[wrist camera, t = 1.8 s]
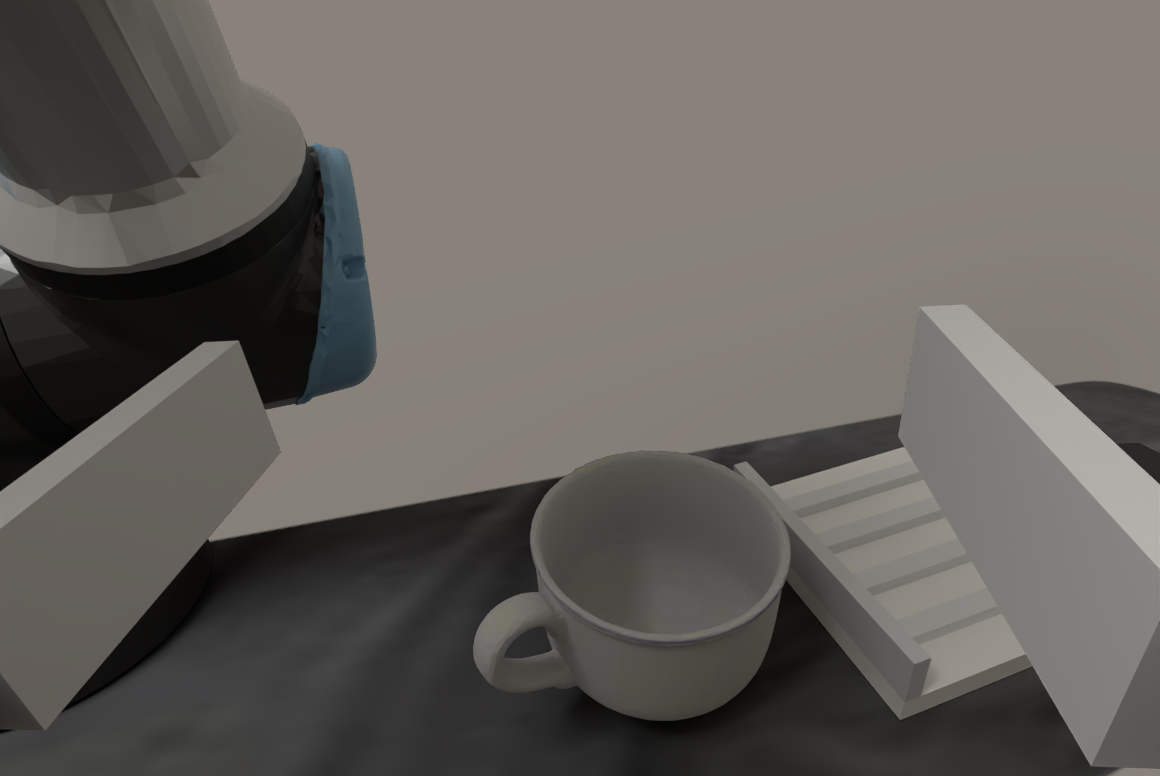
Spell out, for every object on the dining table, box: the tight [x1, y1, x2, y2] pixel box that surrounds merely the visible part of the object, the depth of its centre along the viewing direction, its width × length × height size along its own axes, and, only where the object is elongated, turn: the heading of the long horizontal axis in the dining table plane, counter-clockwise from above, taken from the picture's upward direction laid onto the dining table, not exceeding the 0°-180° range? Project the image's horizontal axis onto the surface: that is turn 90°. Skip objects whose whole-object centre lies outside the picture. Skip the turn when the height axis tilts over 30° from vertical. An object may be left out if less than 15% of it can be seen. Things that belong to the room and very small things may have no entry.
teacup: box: [473, 451, 791, 721], centre depth 29 cm, size 14×11×8 cm
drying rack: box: [734, 447, 1032, 720], centre depth 34 cm, size 16×14×4 cm
